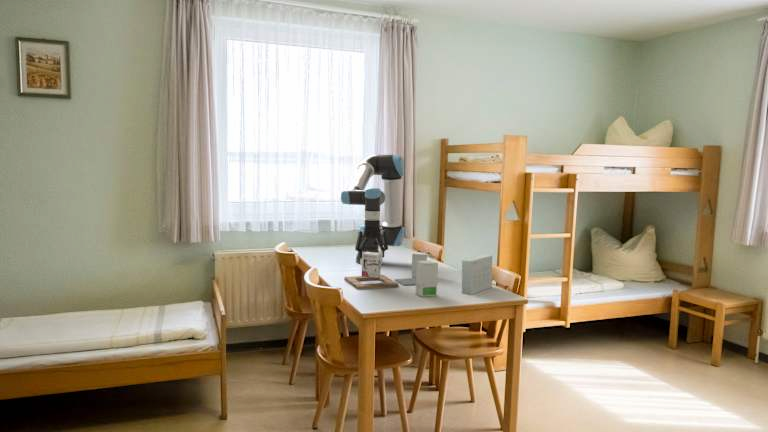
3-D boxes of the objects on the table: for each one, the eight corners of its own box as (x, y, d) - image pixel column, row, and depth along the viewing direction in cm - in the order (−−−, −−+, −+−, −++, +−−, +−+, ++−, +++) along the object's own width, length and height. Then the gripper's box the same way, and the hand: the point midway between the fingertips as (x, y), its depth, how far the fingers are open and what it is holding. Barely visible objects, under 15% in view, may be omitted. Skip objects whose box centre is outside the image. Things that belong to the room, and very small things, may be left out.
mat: (394, 280, 275) (394, 279, 275) (416, 279, 280) (416, 277, 280) (403, 285, 264) (403, 284, 264) (425, 284, 268) (425, 283, 268)
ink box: (361, 276, 267) (361, 253, 265) (364, 274, 271) (365, 251, 270) (377, 278, 264) (377, 254, 262) (380, 276, 268) (381, 252, 267)
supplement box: (425, 278, 281) (425, 254, 280) (411, 277, 283) (411, 253, 281) (426, 275, 289) (427, 252, 287) (413, 274, 290) (413, 251, 289)
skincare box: (421, 297, 243) (422, 263, 241) (414, 293, 249) (415, 260, 247) (437, 295, 246) (438, 262, 245) (430, 292, 252) (431, 259, 251)
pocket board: (344, 279, 274) (344, 277, 273) (383, 277, 281) (383, 274, 281) (357, 289, 254) (357, 286, 254) (398, 286, 262) (398, 283, 261)
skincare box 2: (482, 285, 269) (483, 254, 268) (492, 287, 266) (493, 255, 264) (460, 292, 253) (461, 259, 251) (470, 295, 250) (472, 261, 248)
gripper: (353, 220, 257) (352, 267, 259) (395, 219, 265) (394, 264, 267) (348, 218, 264) (348, 264, 266) (390, 218, 272) (389, 261, 274)
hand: (371, 264), depth 267 cm, fingers closed on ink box, 9 cm apart
